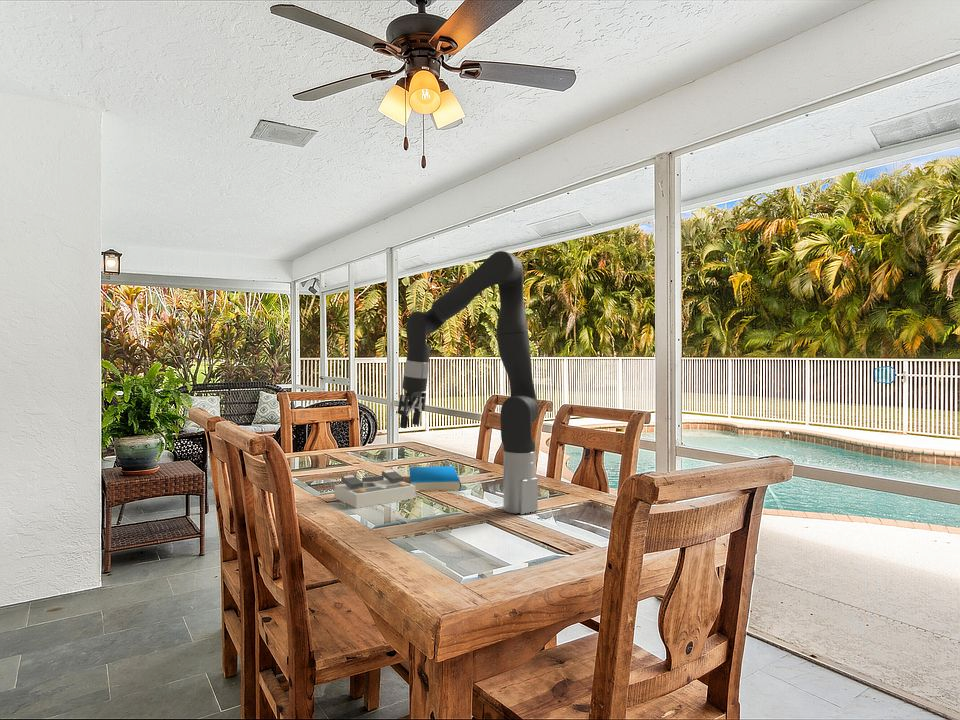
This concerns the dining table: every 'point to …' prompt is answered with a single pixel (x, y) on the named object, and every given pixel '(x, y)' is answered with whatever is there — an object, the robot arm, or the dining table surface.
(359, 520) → the dining table surface
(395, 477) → the rocker
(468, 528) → the dining table surface
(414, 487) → the switch unit
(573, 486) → the dining table surface
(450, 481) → the book
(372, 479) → the rocker
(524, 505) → the robot arm
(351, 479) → the rocker
